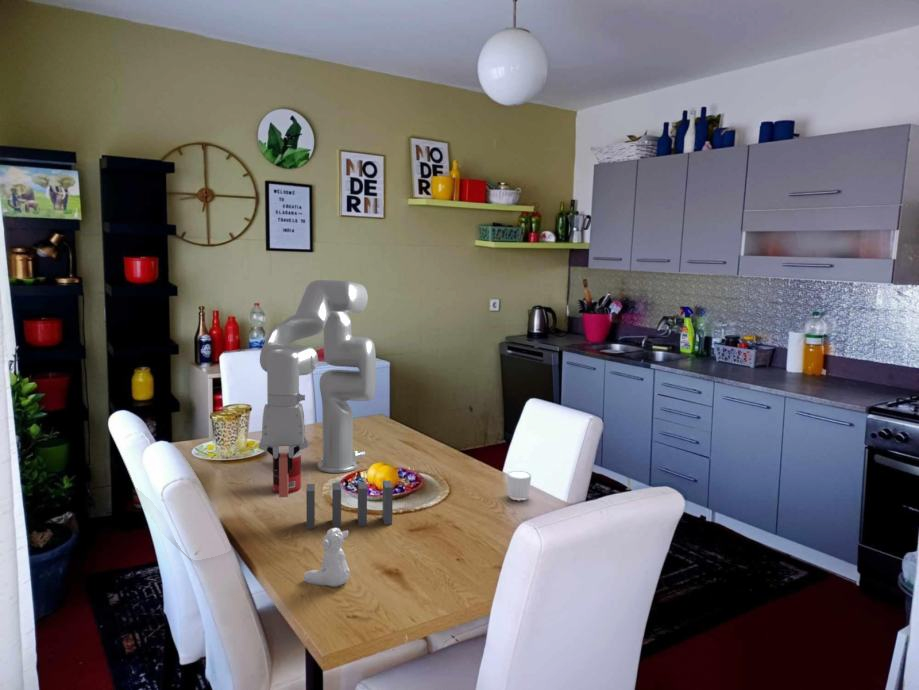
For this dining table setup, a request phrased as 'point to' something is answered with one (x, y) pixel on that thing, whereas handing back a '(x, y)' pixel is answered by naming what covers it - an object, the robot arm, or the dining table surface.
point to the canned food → (293, 477)
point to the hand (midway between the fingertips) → (283, 471)
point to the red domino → (283, 474)
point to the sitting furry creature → (331, 561)
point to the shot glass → (519, 484)
